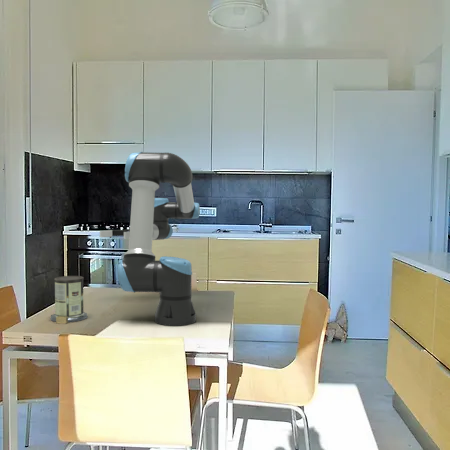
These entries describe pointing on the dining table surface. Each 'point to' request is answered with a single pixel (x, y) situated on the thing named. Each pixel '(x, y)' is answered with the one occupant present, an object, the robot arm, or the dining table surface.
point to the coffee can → (69, 296)
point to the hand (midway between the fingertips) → (112, 234)
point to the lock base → (67, 319)
